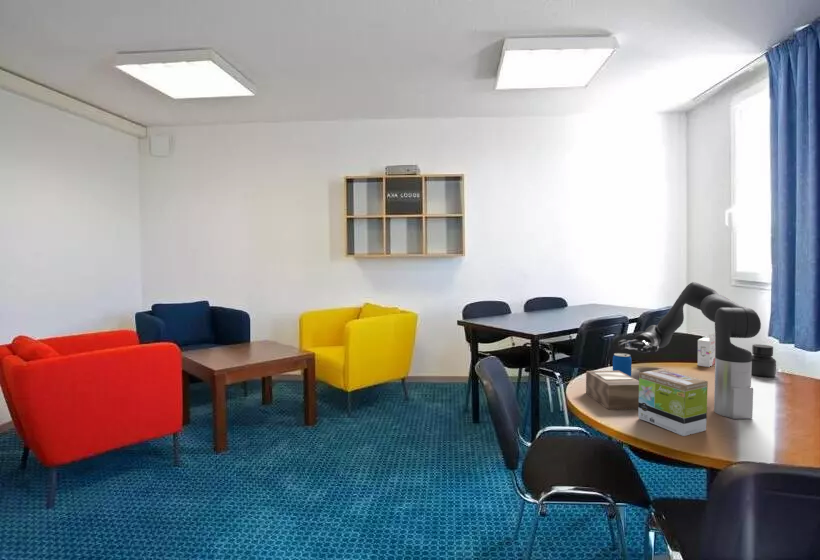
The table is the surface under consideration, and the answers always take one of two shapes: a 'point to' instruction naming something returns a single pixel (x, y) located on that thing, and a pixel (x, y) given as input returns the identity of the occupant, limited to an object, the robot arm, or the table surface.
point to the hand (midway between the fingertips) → (632, 348)
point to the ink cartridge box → (706, 351)
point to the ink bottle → (763, 361)
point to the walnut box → (613, 389)
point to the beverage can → (622, 363)
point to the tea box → (673, 401)
